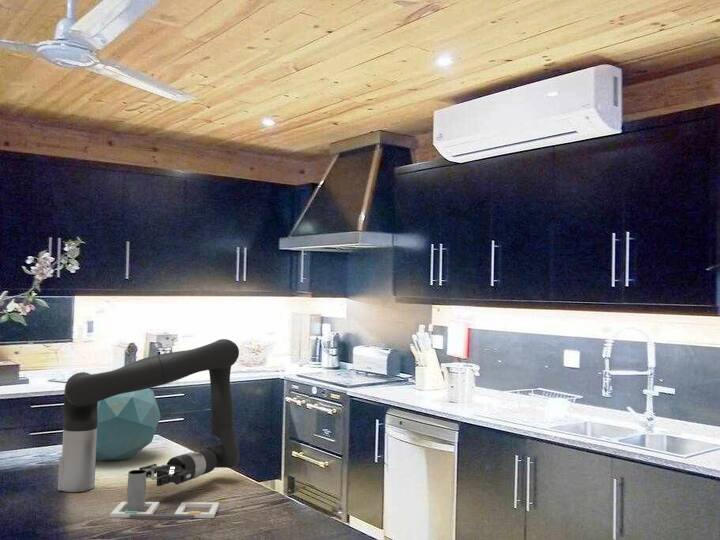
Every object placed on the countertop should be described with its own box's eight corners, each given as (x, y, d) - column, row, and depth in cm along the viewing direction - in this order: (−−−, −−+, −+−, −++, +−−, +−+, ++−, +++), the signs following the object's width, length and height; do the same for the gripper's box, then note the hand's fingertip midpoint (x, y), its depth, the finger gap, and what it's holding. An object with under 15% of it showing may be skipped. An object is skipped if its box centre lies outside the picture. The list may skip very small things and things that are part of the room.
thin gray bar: (129, 518, 171) (129, 515, 171) (130, 517, 172) (130, 514, 172) (193, 519, 172) (193, 516, 172) (193, 518, 173) (193, 515, 173)
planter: (136, 507, 180) (137, 468, 180) (148, 510, 178) (150, 471, 178) (122, 512, 176) (124, 472, 176) (135, 515, 174) (137, 474, 174)
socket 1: (110, 517, 171) (110, 512, 171) (121, 505, 181) (121, 500, 181) (150, 517, 172) (150, 512, 172) (159, 505, 182) (159, 500, 182)
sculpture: (169, 408, 255) (129, 346, 242) (180, 448, 229) (135, 382, 216) (98, 448, 249) (53, 388, 236) (101, 495, 224) (50, 430, 211)
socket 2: (174, 517, 172) (174, 512, 172) (181, 505, 182) (181, 501, 182) (213, 518, 173) (213, 513, 173) (219, 506, 183) (219, 501, 183)
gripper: (168, 450, 198) (126, 462, 183) (206, 457, 191) (166, 469, 177) (167, 476, 197) (125, 490, 183) (205, 483, 191) (165, 498, 177)
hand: (145, 480), depth 180 cm, fingers open, 8 cm apart
